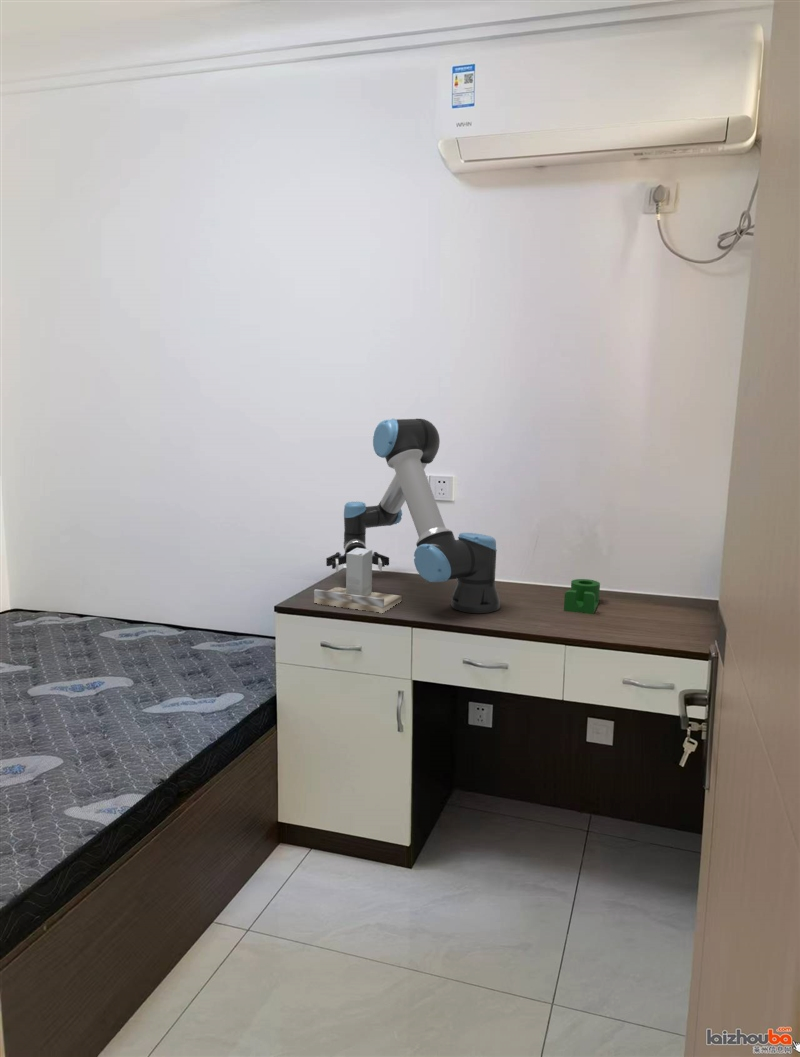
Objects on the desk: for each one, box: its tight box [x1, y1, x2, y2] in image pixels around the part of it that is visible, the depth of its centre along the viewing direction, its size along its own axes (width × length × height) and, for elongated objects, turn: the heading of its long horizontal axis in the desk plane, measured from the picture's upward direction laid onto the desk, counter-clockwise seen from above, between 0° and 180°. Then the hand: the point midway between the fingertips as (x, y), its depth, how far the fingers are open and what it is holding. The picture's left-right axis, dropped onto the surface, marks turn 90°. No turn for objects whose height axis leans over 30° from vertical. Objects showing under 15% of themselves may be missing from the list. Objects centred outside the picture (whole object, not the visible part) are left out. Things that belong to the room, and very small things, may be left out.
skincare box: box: [345, 548, 373, 596], centre depth 241 cm, size 8×6×15 cm
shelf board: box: [313, 586, 403, 614], centre depth 242 cm, size 24×14×4 cm, turn 66°
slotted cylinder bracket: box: [563, 578, 601, 615], centre depth 242 cm, size 18×9×6 cm, turn 159°
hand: (359, 567), depth 238 cm, fingers open, 13 cm apart
